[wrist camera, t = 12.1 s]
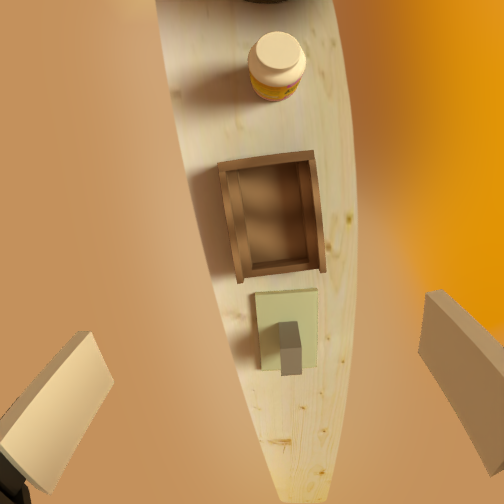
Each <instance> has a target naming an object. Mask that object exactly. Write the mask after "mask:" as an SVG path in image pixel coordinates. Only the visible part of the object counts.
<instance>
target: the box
mask: <svg viewBox="0 0 504 504" xmlns="http://www.w3.org/2000/svg"><path fill="white" fill-rule="evenodd" d="M217 164H218V170H219V179H220V185H221V191H222V197H223V203H224V209H225V215H226V221H227V227H228V233H229V239H230V245H231V250H232V256H233V262H234V268H235V273H236V279H237V284H239V283H243V282H244V278H249V277H257V276H265V275H273V274H281V273H289V272H296V271H304V270H311V269H319V271H320V273H326V258H325V245H324V234H323V223H322V213H321V203H320V194H319V185H318V177H317V169H316V161H315V157H314V150H308V151H299V152H290V153H281V154H274V155H266V156H259V157H252V158H245V159H238V160H232V161H226V162H220V163H217Z"/></svg>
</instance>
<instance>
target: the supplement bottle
mask: <svg viewBox="0 0 504 504" xmlns="http://www.w3.org/2000/svg"><path fill="white" fill-rule="evenodd" d="M248 67H249V73H250V79H251V84H252V87H253V89H254V91H255V92H256V93H257V94H258V95H259V96H260V97H262V98H264V99H266V100H269V101H281V100H284V99H287V98H288V97H290V96H291V95H292V94H293V93H294V92H295V90H296V88H297V86H298V84H299V82H300V79H301V77H302V75H303V73H304V70H305V67H306V58H305V54H304V52H303V50H302V49H301V47H300V45H299V43H298V41H297V40H296V39H295V38H294V37H293V36H291V35H290V34H287V33H284V32H270V33H267V34H265V35H264V36H262V37H261V38H260V39H259V41H258V42H257V43H255V44H254V45H253V47H252V48H251V50H250V52H249V55H248Z"/></svg>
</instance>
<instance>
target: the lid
mask: <svg viewBox="0 0 504 504" xmlns="http://www.w3.org/2000/svg"><path fill="white" fill-rule="evenodd" d="M255 301H256V312H257V323H258V334H259V345H260V356H261V367H262V371H274V370H281V376H287V375H300V374H302V369H303V368H314V367H317V344H318V289H317V288H310V289H297V290H283V291H268V292H255Z"/></svg>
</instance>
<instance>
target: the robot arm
mask: <svg viewBox="0 0 504 504" xmlns="http://www.w3.org/2000/svg"><path fill="white" fill-rule="evenodd" d="M245 1H248V2H254V3H277V2H282V1H286V0H245ZM418 353H419V355H420V356H421V358H422V359H423V361H424V362H425V364H426V365H427V367H428V369H429V370H430V372H431V373H432V375H433V376H434V378H435V380H436V381H437V383H438V384H439V386H440V387H441V389H442V391H443V392H444V394H445V396H446V397H447V399H448V401H449V402H450V404H451V406H452V407H453V409H454V411H455V412H456V414H457V416H458V418H459V419H460V421H461V423H462V425H463V426H464V428H465V430H466V432H467V433H468V435H469V437H470V439H471V441H472V443H473V444H474V446H475V448H476V450H477V452H478V454H479V456H480V458H481V459H482V461H483V463H484V466H485V467H486V470H487V472H488V474H489V476H490V477H492V476H493V475H495V474H497V473H499V472H500V471H502V470H504V347H503V346H501V344H500V343H499V342H498V341H497V340H496V339H495V338H494V337H493V336H492V335H491V334H490V333H489V332H488V331H486V329H485V328H484V327H482V325H480V324H479V323H478V322H477V321H476V320H475V319H474V318H473V317H472V316H471V315H470V314H469V313H468V312H467V311H466V310H465V309H463V308H462V307H461V306H460V305H459V304H458V303H457V302H456V301H455V300H454V299H453V298H451V297H450V296H449V295H448V294H447V293H446V292H444V290H442V289H441V290H436V291H432V292H427V293H426V294H425V305H424V314H423V322H422V330H421V338H420V343H419V349H418ZM113 384H114V380H113V378H112V376H111V374H110V372H109V370H108V368H107V366H106V364H105V362H104V360H103V357H102V356H101V353H100V351H99V349H98V346H97V344H96V342H95V339H94V337H93V335H92V332H91V331H78V332H77V333H76V334H75V335H74V336H73V337H72V338H71V339H70V340H69V341H68V343H67V344H66V345H65V346H64V347H63V348H62V349H61V350H60V351H59V352H58V353H57V354H56V355H55V357H54V358H53V359H52V360H51V361H50V362H49V363H48V364H47V365H46V367H45V368H44V369H43V370H42V371H41V372H40V374H38V376H37V377H36V378H35V379H34V380H33V381H32V383H31V384H30V385H29V386H28V387H27V388H26V389H25V391H24V392H23V393H22V394H21V395H20V397H18V398H17V399H16V401H15V402H14V403H13V404H12V406H11V407H10V408H9V409H8V410H7V412H6V414H4V415H3V417H2V418H1V419H0V504H31V499H30V493H29V490H28V487H27V486H26V485H25V484H24V482H25V480H26V479H27V480H28V481H29V482H30V483H31V484H32V485H33V486H34V487H35V488H36V489H38V490H40V491H42V492H44V493H47V494H49V495H51V494H52V492H53V490H54V488H55V486H56V484H57V482H58V480H59V478H60V477H61V475H62V473H63V471H64V469H65V467H66V466H67V464H68V462H69V460H70V458H71V456H72V455H73V452H74V451H75V449H76V447H77V446H78V444H79V442H80V440H81V438H82V437H83V435H84V433H85V431H86V429H87V428H88V426H89V424H90V423H91V421H92V419H93V418H94V416H95V414H96V412H97V411H98V409H99V407H100V406H101V404H102V402H103V401H104V399H105V397H106V396H107V394H108V392H109V391H110V389H111V387H112V386H113Z"/></svg>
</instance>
